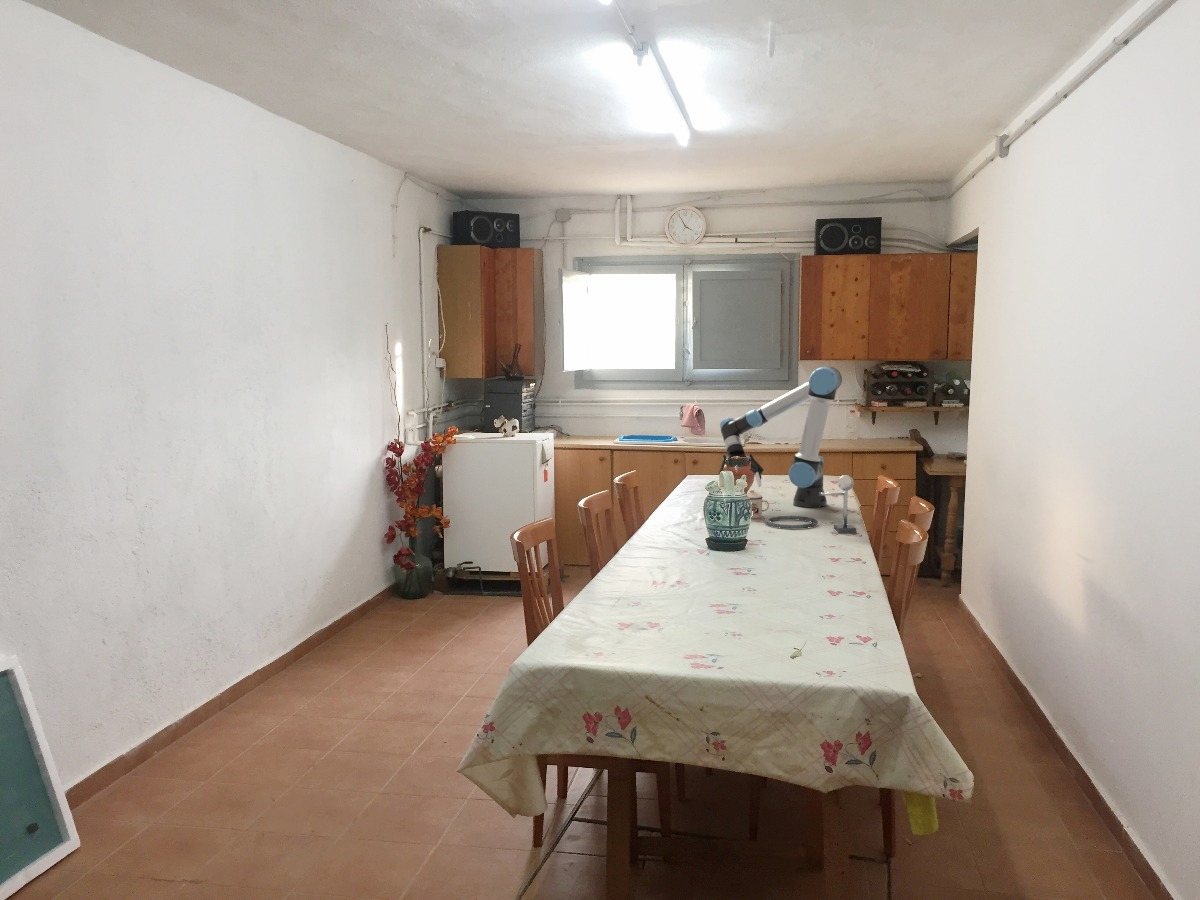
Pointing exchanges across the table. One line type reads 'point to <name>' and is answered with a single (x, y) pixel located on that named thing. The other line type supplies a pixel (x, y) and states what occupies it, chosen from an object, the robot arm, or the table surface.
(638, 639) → the table surface
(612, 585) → the table surface
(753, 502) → the teacup with lid
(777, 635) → the table surface
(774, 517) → the centring ring
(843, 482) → the dial gauge stand
